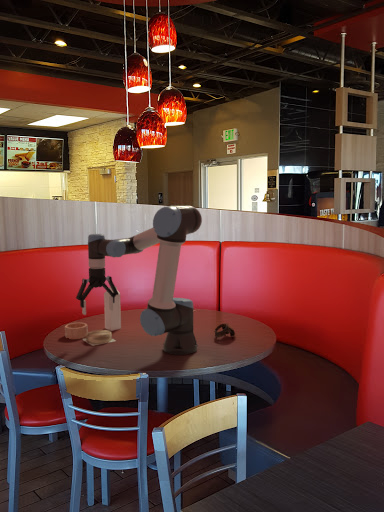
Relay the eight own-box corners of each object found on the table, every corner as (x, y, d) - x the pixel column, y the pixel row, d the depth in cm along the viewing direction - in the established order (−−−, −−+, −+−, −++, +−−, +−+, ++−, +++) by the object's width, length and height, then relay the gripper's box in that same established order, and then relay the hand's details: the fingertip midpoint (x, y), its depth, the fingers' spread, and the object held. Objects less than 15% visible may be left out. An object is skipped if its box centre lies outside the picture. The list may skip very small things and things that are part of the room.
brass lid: (115, 340, 221) (115, 333, 220) (92, 345, 214) (92, 338, 213) (105, 335, 230) (104, 328, 230) (82, 339, 223) (82, 332, 223)
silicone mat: (116, 341, 221) (116, 340, 221) (92, 346, 214) (92, 345, 214) (105, 335, 230) (105, 334, 230) (82, 340, 223) (82, 339, 223)
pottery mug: (237, 342, 221) (229, 328, 218) (219, 349, 223) (211, 336, 220) (237, 329, 232) (229, 315, 229) (220, 336, 234) (212, 323, 231)
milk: (121, 329, 241) (120, 287, 238) (111, 331, 237) (110, 288, 234) (114, 326, 246) (113, 285, 243) (104, 329, 242) (103, 286, 239)
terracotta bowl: (90, 337, 228) (90, 326, 227) (70, 341, 222) (69, 329, 221) (82, 332, 236) (82, 321, 236) (62, 335, 230) (61, 324, 230)
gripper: (117, 264, 228) (118, 306, 231) (67, 268, 213) (69, 314, 216) (124, 266, 222) (125, 309, 224) (74, 271, 207) (75, 317, 210)
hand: (97, 312), depth 220 cm, fingers open, 13 cm apart
